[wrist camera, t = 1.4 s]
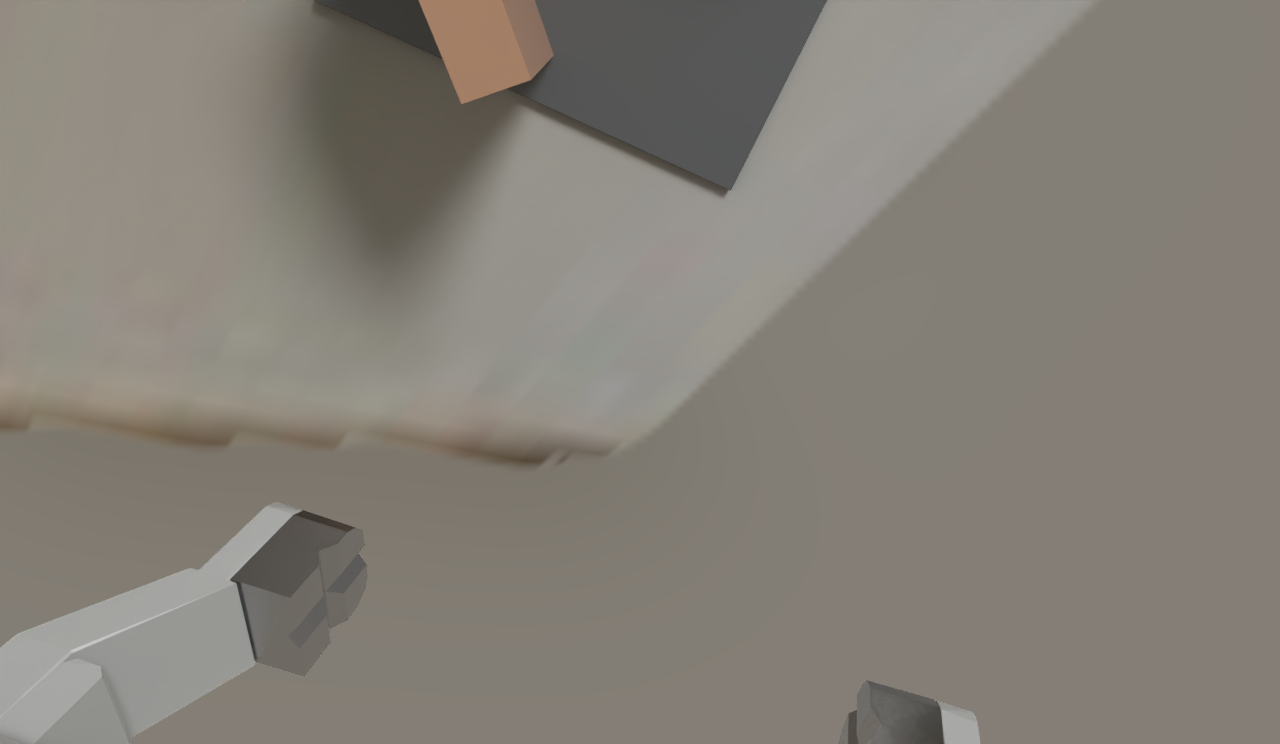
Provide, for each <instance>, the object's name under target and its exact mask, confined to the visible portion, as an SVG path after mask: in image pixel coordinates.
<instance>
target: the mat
mask: <svg viewBox="0 0 1280 744" xmlns="http://www.w3.org/2000/svg"><path fill="white" fill-rule="evenodd" d="M315 1H318V2H320V3H322V4H324V5H326V6H329V7H331V8H333V9H335V10H337V11H339V12H342V13H344V14H346V15H348V16H350V17H353V18H355V19H357V20H359V21H361V22H363V23H366V24H368V25H370V26H372V27H374V28H377V29H379V30H381V31H383V32H385V33H388V34H390V35H392V36H394V37H396V38H398V39H401V40H403V41H405V42H407V43H409V44H412V45H414V46H416V47H418V48H420V49H422V50H425V51H427V52H429V53H431V54H433V55H436V56H438V57H440V58H442V56H441V53H440V51H439V49H438V46H437V44H436V41H435V39H434V36H433V34H432V32H431V29H430V27H429V24H428V22H427V19H426V17H425V15H424V12H423V10H422V7H421V5H420V2H419V0H315ZM826 1H827V0H535V2H536V5H537V8H538V11H539V14H540V17H541V20H542V23H543V26H544V28H545V31H546V34H547V37H548V40H549V43H550V46H551V49H552V52H553V54H554V56H553V57H552V58H551V59H550V60H549V61H548V62H547V63H546V64H545V66H544V67H543V68H542V69H541V70H540V71H539V72H538V73H537V74H536V75H535V76H534V77H533V78H532V79H531V80H529V81H527V82H524V83H521V84H518V85H515V86H512V87H509V88H508V89H510V90H512V91H514V92H516V93H519V94H521V95H523V96H525V97H527V98H530V99H532V100H534V101H536V102H538V103H541V104H543V105H545V106H547V107H549V108H551V109H554V110H556V111H558V112H560V113H562V114H565V115H567V116H569V117H571V118H573V119H576V120H578V121H580V122H582V123H584V124H586V125H589V126H591V127H593V128H595V129H597V130H600V131H602V132H604V133H606V134H608V135H610V136H613V137H615V138H617V139H619V140H621V141H624V142H626V143H628V144H630V145H632V146H635V147H637V148H639V149H641V150H643V151H645V152H648V153H650V154H652V155H654V156H656V157H659V158H661V159H663V160H665V161H667V162H669V163H672V164H674V165H676V166H678V167H680V168H683V169H685V170H687V171H689V172H691V173H694V174H696V175H698V176H700V177H702V178H704V179H707V180H709V181H711V182H713V183H715V184H718V185H720V186H722V187H724V188H726V189H729V190H731V189H732V187H733V185H734V183H735V181H736V179H737V177H738V175H739V173H740V171H741V169H742V167H743V165H744V163H745V161H746V159H747V157H748V155H749V153H750V151H751V149H752V147H753V146H754V144H755V142H756V140H757V138H758V136H759V134H760V132H761V130H762V128H763V126H764V124H765V122H766V120H767V118H768V116H769V114H770V112H771V110H772V108H773V106H774V104H775V102H776V100H777V98H778V96H779V94H780V92H781V90H782V88H783V86H784V84H785V82H786V80H787V78H788V76H789V74H790V72H791V70H792V68H793V66H794V64H795V62H796V60H797V58H798V56H799V55H800V53H801V51H802V49H803V47H804V45H805V43H806V41H807V39H808V37H809V35H810V33H811V31H812V29H813V27H814V25H815V23H816V21H817V19H818V17H819V15H820V13H821V11H822V9H823V7H824V5H825V3H826ZM442 59H443V58H442Z"/></svg>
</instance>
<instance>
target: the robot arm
mask: <svg viewBox="0 0 1280 744" xmlns="http://www.w3.org/2000/svg"><path fill="white" fill-rule="evenodd" d="M364 545H365V544H364V538H363V531H362V530H360V529H357V528H355V527H352V526H349V525H346V524H343V523H340V522H337V521H334V520H331V519H328V518H325V517H322V516H319V515H316V514H313V513H310V512H307V511H304V510H300V509H297V508H294V507H291V506H288V505H284V504H281V503H278V502H275V503H273V504H271V505H268V506H266V507H265V508H263V509H262V510H261V511H260V512H259V513H258V514H257V515H256V516H255V517H254V518H253V519H252V520H251V521H250V522H249V523H248V524H247V525H246V526H244V527H243V528H242V529H241V530H240V531H239V532H238V533H237V534H236V535H235V536H234V537H233V538H232V539H231V540H230V541H229V542H228V543H226V544H225V545H224V546H223V547H222V548H221V549H220V550H219V551H218V552H217V553H216V554H215V555H214V556H213V557H212V558H211V559H210V560H209V561H207V563H206V564H204V565H203V566H202V567H201V568H200V569H199V570H195V569H192V568H189V569H186V570H183V571H181V572H178V573H175V574H173V575H170V576H168V577H165V578H163V579H160V580H157V581H155V582H152V583H149V584H147V585H144V586H141V587H139V588H136V589H134V590H131V591H128V592H126V593H123V594H121V595H118V596H115V597H113V598H110V599H107V600H105V601H102V602H99V603H97V604H94V605H92V606H89V607H86V608H84V609H81V610H79V611H76V612H73V613H71V614H68V615H65V616H63V617H60V618H58V619H55V620H52V621H50V622H47V623H44V624H42V625H39V626H37V627H34V628H31V629H29V630H26V631H23V632H21V633H18V634H17V635H15V636H14V637H13V638H12V639H11V640H9V641H8V642H7V643H6V644H4V645H3V646H2V647H1V648H0V744H133V742H132V739H131V738H132V737H134V736H135V735H137V734H139V733H140V732H142V731H144V730H145V729H147V728H149V727H150V726H152V725H154V724H156V723H157V722H158V721H161V720H162V719H164V718H166V717H167V716H169V715H171V714H173V713H174V712H176V711H177V710H179V709H181V708H183V707H184V706H186V705H188V704H190V703H191V702H193V701H194V700H196V699H198V698H199V697H201V696H203V695H205V694H206V693H208V692H210V691H211V690H213V689H215V688H217V687H218V686H220V685H222V684H223V683H225V682H227V681H229V680H230V679H232V678H234V677H235V676H237V675H239V674H240V673H242V672H243V671H245V670H247V669H249V668H251V667H252V666H253V665H255V661H256V662H259V663H262V664H266V665H269V666H272V667H276V668H279V669H283V670H285V671H289V672H292V673H295V674H299V675H302V676H305V675H306V674H307V672H308V671H309V669H310V668H311V667H312V666H313V664H314V663H315V662H316V661H317V659H318V658H319V657H320V655H321V654H322V653H323V651H324V650H325V649H326V647H327V646H328V645H329V644H330V628H332V627H334V626H336V625H338V624H340V623H342V622H345V621H347V620H348V618H349V617H350V616H351V614H352V613H353V611H354V610H355V608H356V607H357V606H358V604H359V601H360V599H361V597H362V595H363V592H364V590H365V586H366V581H367V565H366V563H365V562H364V561H363V559H362V558H361V557H360V555H359V554H358V553H359V551H360V550H361V549H362V548H363V546H364ZM839 744H980V737H979V731H978V724H977V719H976V717H975V715H974V714H973V712H971V711H968V710H964V709H961V708H958V707H954V706H951V705H948V704H944V703H941V702H937V701H934V700H933V699H930V698H927V697H923V696H920V695H916V694H913V693H909V692H906V691H902V690H899V689H895V688H892V687H888V686H885V685H881V684H878V683H874V682H871V681H866V682H865V683H863V684H862V686H861V688H860V690H859V693H858V695H857V710H856V711H853V712H851V713H849V714H848V717H847V719H846V721H845V724H844V726H843V729H842V733H841V737H840V741H839Z"/></svg>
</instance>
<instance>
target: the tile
mask: <svg viewBox="0 0 1280 744" xmlns="http://www.w3.org/2000/svg"><path fill="white" fill-rule="evenodd" d="M419 2H420V5H421V7H422V10H423V12H424V15H425V17H426V19H427V22H428V24H429V27H430V29H431V32H432V34H433V36H434V39H435V41H436V44H437V46H438V49H439V51H440V53H441V56H442V58H443V61H444V63H445V66H446V68H447V70H448V73H449V75H450V78H451V80H452V83H453V85H454V87H455V90H456V92H457V95H458V97H459V100H460V102H461V104H464V103H467V102H470V101H472V100H475V99H478V98H481V97H484V96H487V95H490V94H492V93H495V92H498V91H501V90H504V89H507V88H509V87H512V86H515V85H518V84H521V83H524V82H527V81H529V80H531V79H532V78H533V77H534V76H535V75H536V74H537V73H538V72H539V71H540V70H541V69H542V68H543V67H544V66H545V64H546V63H547V62H548V61H549V60H550V59H551V58H552V57H553V56H554V54H553V52H552V49H551V46H550V43H549V40H548V37H547V34H546V31H545V28H544V26H543V23H542V20H541V17H540V14H539V11H538V8H537V5H536V2H535V0H419Z"/></svg>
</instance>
